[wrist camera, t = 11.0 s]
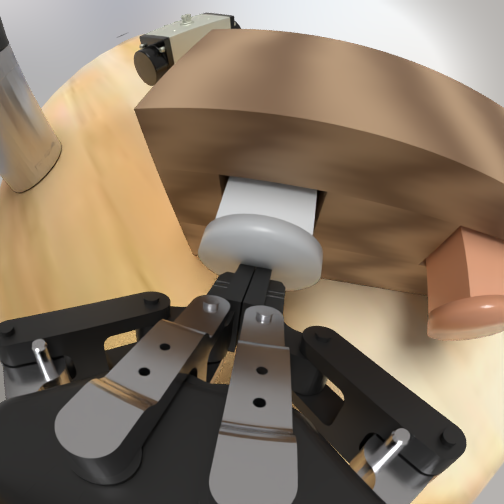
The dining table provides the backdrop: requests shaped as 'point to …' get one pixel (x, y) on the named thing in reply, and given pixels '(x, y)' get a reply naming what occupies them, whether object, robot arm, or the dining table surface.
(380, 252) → the socket block
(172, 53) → the pneumatic valve
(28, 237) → the dining table surface
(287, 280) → the grey plug
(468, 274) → the terracotta plug
